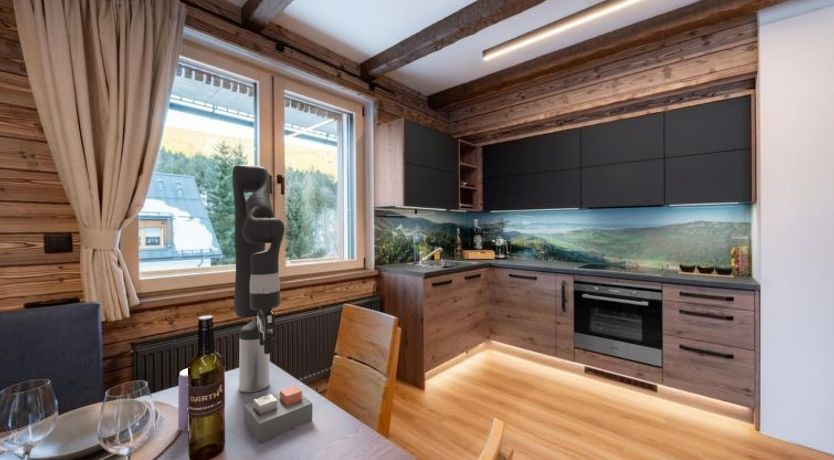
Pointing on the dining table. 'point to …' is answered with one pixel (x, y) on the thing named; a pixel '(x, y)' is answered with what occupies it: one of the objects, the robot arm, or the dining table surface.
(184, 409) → the beverage can
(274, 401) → the plug
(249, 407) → the grey plug holder
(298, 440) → the dining table surface
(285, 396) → the orange cube
